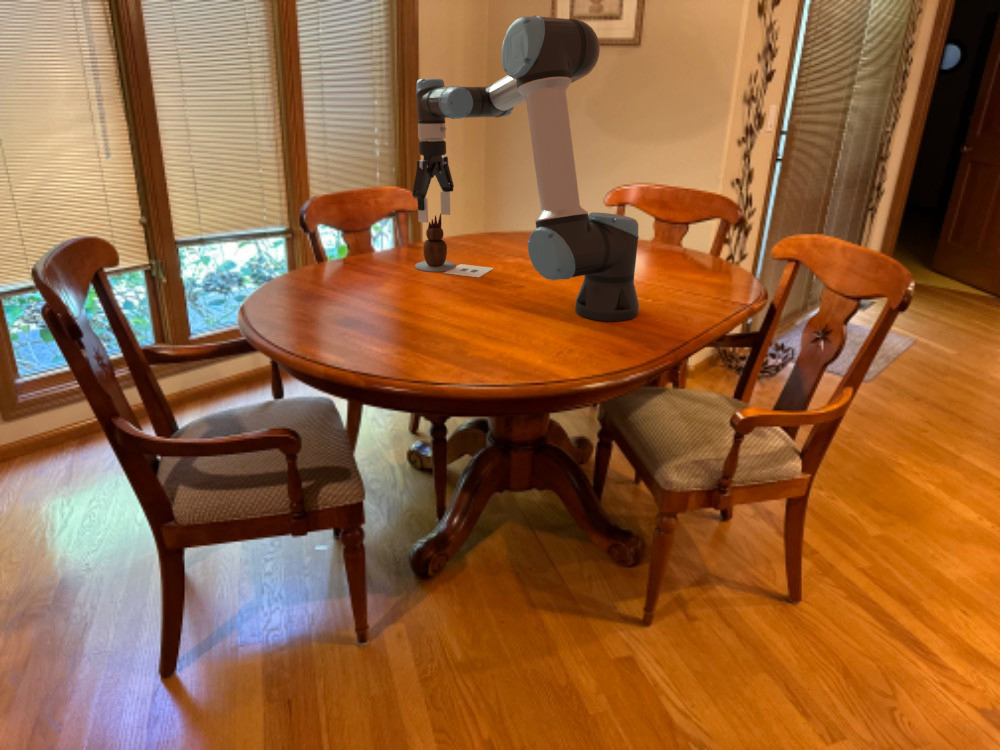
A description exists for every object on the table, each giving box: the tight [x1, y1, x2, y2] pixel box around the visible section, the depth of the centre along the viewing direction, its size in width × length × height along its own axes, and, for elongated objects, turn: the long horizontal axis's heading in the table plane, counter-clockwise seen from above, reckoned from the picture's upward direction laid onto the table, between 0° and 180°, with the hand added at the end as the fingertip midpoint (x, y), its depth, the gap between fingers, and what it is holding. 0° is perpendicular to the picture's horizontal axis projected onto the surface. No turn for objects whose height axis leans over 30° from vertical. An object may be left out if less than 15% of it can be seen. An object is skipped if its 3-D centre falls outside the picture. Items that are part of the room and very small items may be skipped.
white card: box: [443, 263, 495, 278], centre depth 198 cm, size 11×11×1 cm
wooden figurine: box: [422, 213, 448, 266], centre depth 199 cm, size 7×6×15 cm
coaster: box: [414, 260, 457, 273], centre depth 202 cm, size 12×12×1 cm
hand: (434, 218), depth 196 cm, fingers open, 13 cm apart
